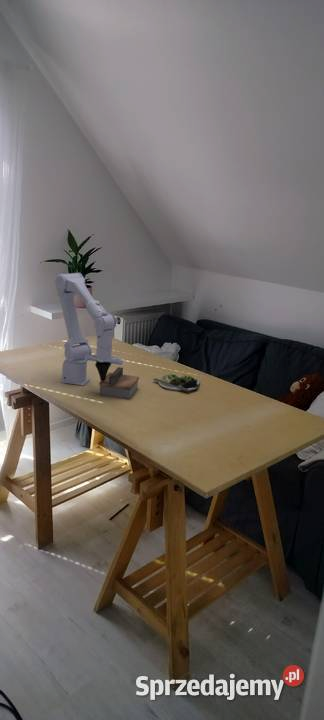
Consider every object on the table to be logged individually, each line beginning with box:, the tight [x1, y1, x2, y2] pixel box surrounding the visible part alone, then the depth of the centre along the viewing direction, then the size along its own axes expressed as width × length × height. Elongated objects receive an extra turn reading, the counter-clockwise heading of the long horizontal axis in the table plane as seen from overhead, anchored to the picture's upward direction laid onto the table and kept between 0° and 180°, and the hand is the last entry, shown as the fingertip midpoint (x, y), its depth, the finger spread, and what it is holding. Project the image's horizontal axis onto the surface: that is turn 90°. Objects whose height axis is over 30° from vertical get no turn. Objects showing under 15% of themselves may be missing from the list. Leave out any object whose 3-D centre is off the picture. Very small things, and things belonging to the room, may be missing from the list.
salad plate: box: [152, 374, 201, 393], centre depth 215 cm, size 19×18×5 cm
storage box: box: [99, 380, 139, 400], centre depth 203 cm, size 12×12×4 cm
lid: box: [98, 366, 140, 390], centre depth 202 cm, size 13×13×4 cm
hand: (102, 379), depth 198 cm, fingers closed
